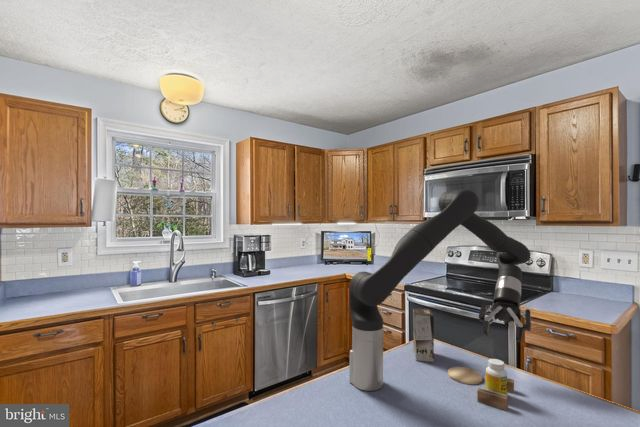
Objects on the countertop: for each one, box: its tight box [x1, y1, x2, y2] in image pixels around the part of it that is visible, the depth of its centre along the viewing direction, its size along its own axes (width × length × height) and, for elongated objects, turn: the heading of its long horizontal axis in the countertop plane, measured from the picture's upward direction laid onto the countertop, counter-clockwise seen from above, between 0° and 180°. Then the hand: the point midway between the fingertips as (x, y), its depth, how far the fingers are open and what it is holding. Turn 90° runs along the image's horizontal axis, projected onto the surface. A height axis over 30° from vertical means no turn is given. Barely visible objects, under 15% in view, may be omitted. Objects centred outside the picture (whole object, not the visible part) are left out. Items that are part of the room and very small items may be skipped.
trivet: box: [447, 366, 483, 385], centre depth 104 cm, size 10×10×1 cm
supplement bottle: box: [485, 358, 508, 396], centre depth 93 cm, size 5×5×10 cm
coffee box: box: [412, 308, 435, 363], centre depth 120 cm, size 9×6×16 cm
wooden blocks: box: [476, 377, 515, 412], centre depth 93 cm, size 7×13×3 cm, turn 142°
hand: (501, 337), depth 101 cm, fingers open, 8 cm apart
